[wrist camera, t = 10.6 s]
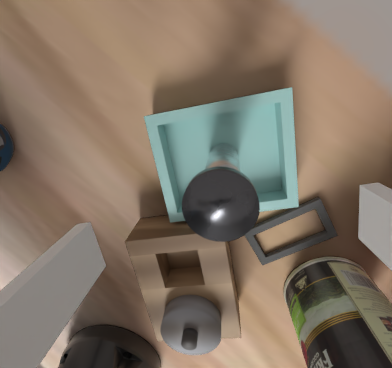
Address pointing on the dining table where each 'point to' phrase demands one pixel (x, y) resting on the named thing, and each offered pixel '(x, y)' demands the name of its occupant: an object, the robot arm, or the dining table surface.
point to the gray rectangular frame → (297, 245)
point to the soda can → (5, 147)
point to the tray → (235, 136)
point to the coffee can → (339, 315)
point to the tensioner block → (185, 284)
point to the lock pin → (221, 198)
